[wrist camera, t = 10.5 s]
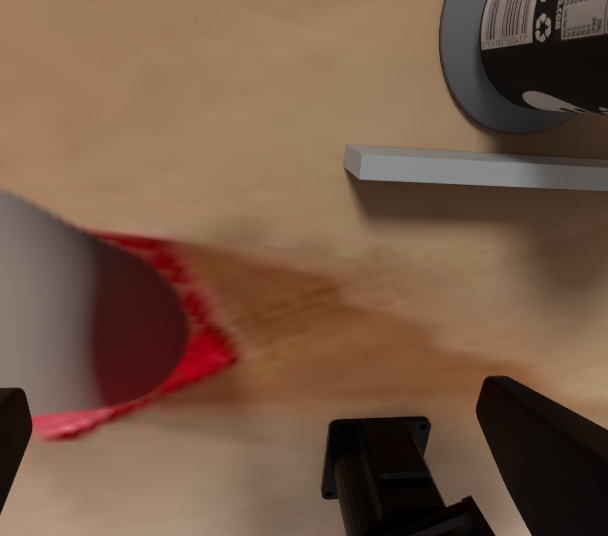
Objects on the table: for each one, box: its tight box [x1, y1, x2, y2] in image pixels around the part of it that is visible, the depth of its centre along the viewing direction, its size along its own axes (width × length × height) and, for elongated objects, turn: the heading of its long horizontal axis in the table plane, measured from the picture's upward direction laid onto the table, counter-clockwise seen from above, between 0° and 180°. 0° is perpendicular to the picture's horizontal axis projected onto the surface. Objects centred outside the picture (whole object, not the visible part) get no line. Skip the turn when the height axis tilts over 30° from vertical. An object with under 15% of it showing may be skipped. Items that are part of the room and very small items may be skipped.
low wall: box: [344, 145, 608, 191], centre depth 19 cm, size 1×16×3 cm, turn 85°
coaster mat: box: [439, 0, 578, 133], centre depth 18 cm, size 9×9×1 cm
